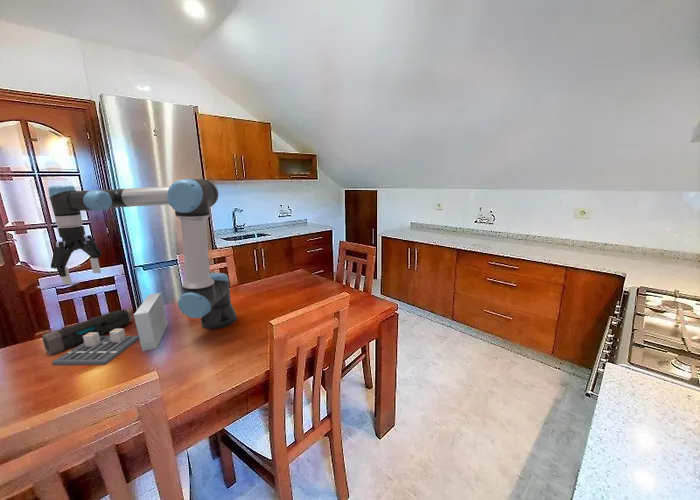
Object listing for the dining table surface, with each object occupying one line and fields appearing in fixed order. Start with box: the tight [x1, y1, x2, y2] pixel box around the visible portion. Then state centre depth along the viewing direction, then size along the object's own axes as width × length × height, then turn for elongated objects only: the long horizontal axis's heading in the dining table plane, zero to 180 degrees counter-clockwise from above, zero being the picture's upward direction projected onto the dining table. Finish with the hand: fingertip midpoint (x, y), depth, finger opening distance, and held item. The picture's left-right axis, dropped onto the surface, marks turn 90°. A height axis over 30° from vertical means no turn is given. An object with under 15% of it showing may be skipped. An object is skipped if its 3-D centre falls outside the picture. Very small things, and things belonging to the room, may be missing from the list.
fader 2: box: [108, 328, 127, 343], centre depth 120 cm, size 4×3×5 cm
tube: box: [41, 308, 134, 356], centre depth 126 cm, size 11×7×30 cm
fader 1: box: [83, 332, 100, 347], centre depth 117 cm, size 4×3×5 cm
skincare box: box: [133, 292, 169, 352], centre depth 124 cm, size 21×5×16 cm, turn 20°
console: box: [52, 335, 140, 366], centre depth 116 cm, size 19×18×2 cm
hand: (83, 278), depth 121 cm, fingers open, 13 cm apart
